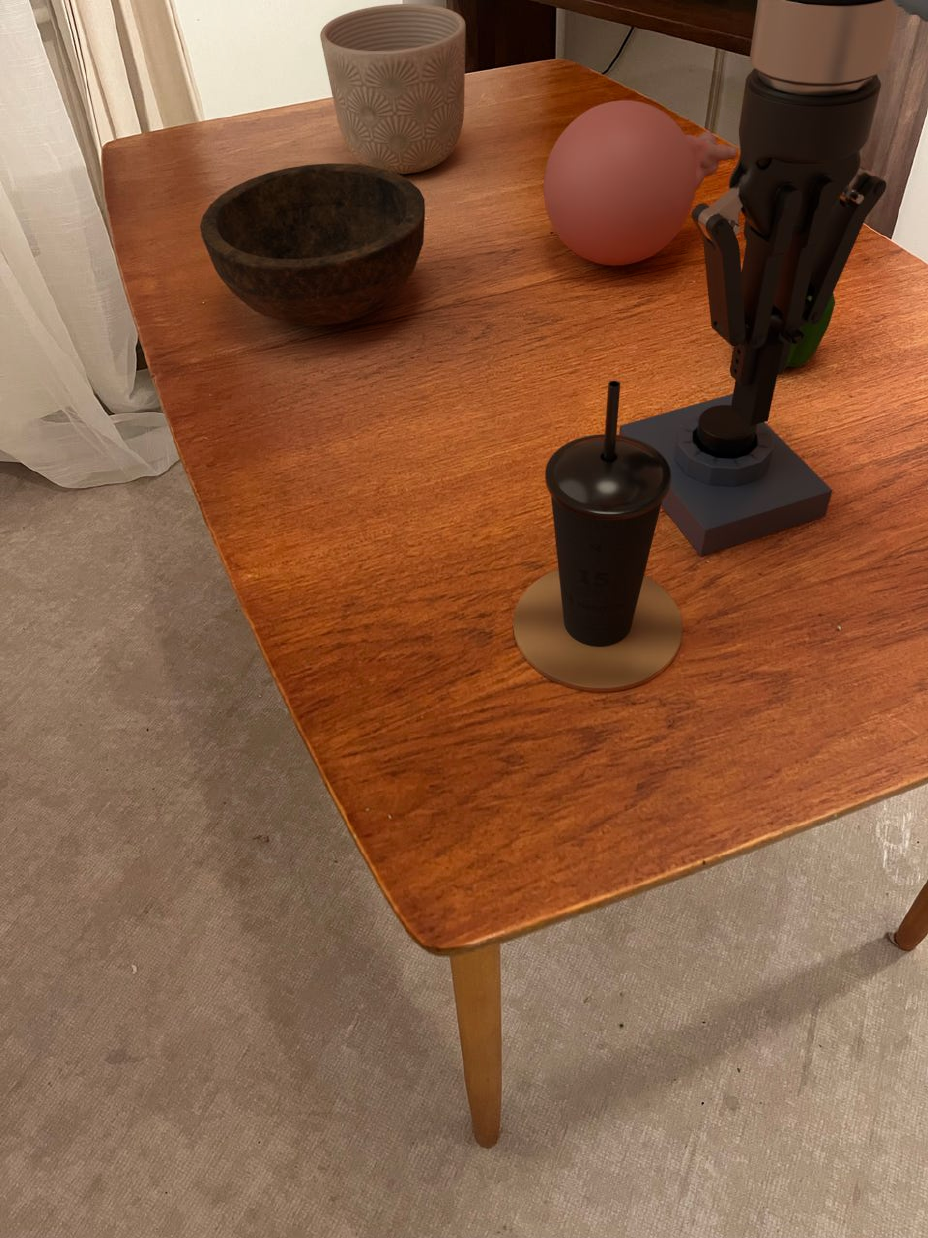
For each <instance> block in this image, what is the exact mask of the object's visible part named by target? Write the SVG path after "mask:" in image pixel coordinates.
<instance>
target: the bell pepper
mask: <svg viewBox="0 0 928 1238" xmlns="http://www.w3.org/2000/svg"><path fill="white" fill-rule="evenodd" d="M808 299H809V300H810V301H811V299H812V297H811V296H810V297H809V298H808ZM835 305H836V299H835V294H834V292H833V294H832V296H831V299H830V301H829V303H828V305H827V308H826V310H825V312H824V315H823V317H822V319H821V320H820V321H819V322H818V323H817V324H815V325H810V324H808V323H807V324H805V325H804V326H802V327H800V328H799V330H800V331H801V332H802V333H804V334H805V337H804V339H803V340H802V341H801V342H800V343H799V344H797V345H793V344H791V346H790V351H789V355H788V360H787V365H786V368H798V367H803V366H805V365H806V364H807V363H808V362H809V361H810V360H812V358H813V356H814V354H815V352H816V351H817V349H818V347H819V346H820V344H821V341H822V339H823V338H824V336H825V333H826V332H827V330H828V328H829V325H830V323H831V320H832V317H833V313H834V309H835Z"/></svg>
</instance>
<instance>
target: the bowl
mask: <svg viewBox="0 0 928 1238" xmlns="http://www.w3.org/2000/svg"><path fill="white" fill-rule="evenodd" d="M425 216H426V201H425V198H424V195H423V193H422V192H421V190H420V189H419V188H418V187H417V186H416V185H415V184H414V183H413V182H412V181H411V180H409V179H407V178H405V176H403V175H401V174H396V173H393V172H390V171H387V170H385V169H381V168H376V167H371V166H366V165H363V164H355V163H329V162H328V163H316V164H304V165H299V166H293V167H286V168H283V169H279V170H275V171H269V172H266V173H264V174H260V175H258V176H255V177H253V178H250V179H248V180H246V181H243V182H241V183H239V184H237V185H234V186H233V187H231V188H230V189H228V190H226V191H225V192H223V193H222V194H220V195H219V196H218V197H217V198H216V199H215V200H213V202H212V203H211V204H209V206H208V207H207V208H206V210H205V212H204V213H203V215H202V217H201V221H200V225H199V228H200V229H199V230H200V235H201V238H202V241H203V244H204V246H205V248H206V251H207V253H208V256H209V259H210V261H211V263H212V265H213V268H214V270H215V272H216V274H217V275H218V276H219V278H220V279H221V280H222V282H223V283H224V284H225V285H226V287H227V288H228V289H229V290H230V292H231V293H232V294H233V295H234V296H236V297H237V298H238V299H239V300H241V301H242V302H243V303H245V305H247V306H248V307H250V308H251V309H252V310H253V311H254V312H256V313H259V314H260V315H263V316H265V317H267V318H271V319H274V320H277V321H279V322H283V323H286V324H290V325H297V326H311V327H312V326H313V327H316V326H318V327H319V326H329V325H335V324H341V323H346V322H349V321H353V320H356V319H359V318H361V317H364V316H367V315H369V314H371V313H372V312H374V311H376V310H377V309H379V308H380V307H382V306H384V305H385V304H386V303H388V302H389V301H390V300H391V299H392V298H393V297H395V296H396V295H397V294H398V293H399V292H400V290H401V289H402V288H403V287H404V285H405V284H406V282H407V281H408V279H409V277H411V276H412V273H413V272H414V270H415V268H416V265H417V262H418V260H419V257H420V254H421V251H422V249H423V245H424V240H425V238H424V236H425V221H426V220H425V218H426V217H425Z"/></svg>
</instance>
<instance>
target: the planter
mask: <svg viewBox="0 0 928 1238" xmlns="http://www.w3.org/2000/svg"><path fill="white" fill-rule="evenodd" d="M466 29H467V28H466V21H465V19H464V18H463V16H462V15H461V14H459V13H457V12H456V11H454V10H451V9H448V8H446V7H442V6H437V5H432V4H424V3H423V4H421V3H396V4H395V3H394V4H384V5H383V4H382V5H376V6H371V7H370V6H369V7H365V8H361V9H357V10H353V11H350V12H347V13H344V14H342V15H340V16H337V17H335V18H333V19H332V20H330V21H329V22H327V23H326V24H325V25H324V26H323V27H322V29H321V30H320V34H319V38H320V43H321V48H322V52H323V58H324V62H325V67H326V72H327V77H328V81H329V87H330V91H331V96H332V101H333V104H334V105H333V106H334V110H335V115H336V119H337V124H338V128H339V131H340V134H341V136H342V139H343V141H344V144H345V145H346V147H347V149H348V150H349V152H350V153H351V155H352V156H353V157H354V158H355V159H356V160H357V161H359V163H361V165H366V166H371V167H376V168H381V169H385V170H387V171H390V172H393V173H396V174H398V175H409V174H415V173H420V172H423V171H424V172H425V171H427V170H430V169H432V168H434V167H436V166H438V165H440V164H441V163H442V162H443V161H446V159H447V158H448V157H449V156H450V155H451V153H452V152H453V151H454V149H455V148H456V146H457V144H458V142H459V139H460V136H461V134H462V129H463V124H464V119H465V118H464V116H465V83H466V82H465V81H466V79H465V78H466Z"/></svg>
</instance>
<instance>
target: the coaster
mask: <svg viewBox="0 0 928 1238" xmlns="http://www.w3.org/2000/svg"><path fill="white" fill-rule="evenodd" d="M512 624H513V625H512V627H513V636H514V641H515V643H516V646H517V649H518V650H519V652H520V654H521V655H522V657H523V659H524V660H525V661H526V662H527V663H528V664H529V665H530V666H531V667H532V668H533V669H534V670H535V671H536V672H538V673H539V674H540V675H542V676H543V677H545V678H547V679H548V680H550V681H552V682H553V683H556V684H558V685H561V686H564V687H566V688H569V689H574V690H578V691H584V692H589V693H612V692H620V691H625V690H629V689H634V688H636V687H638V686H641V685H644V684H646V683H648V682H649V681H652V680H653V679H655V678H656V677H658V676H659V675H660V674H662V673H663V672H664V671H665V670H666V669H667V668H668V667H669V666H670V665H671V663H672V662H673V661H674V660H675V658H676V656H677V655H678V653H679V649H680V647H681V645H682V638H683V634H684V633H683V632H684V630H683V628H684V627H683V618H682V615H681V612H680V608H679V607H678V605H677V603H676V602H675V600H674V598H673V597H672V596H671V594H670V593H669V592H668V591H667V590H666V589H665V588H664V587H663V586H662V585H661V584H659V582H657V581H656V580H654V579H653V578H651V577H649V576H648V575H646V574H644V577H643V581H642V585H641V589H640V594H639V598H638V602H637V606H636V610H635V614H634V618H633V622H632V626H631V629H630V631H629V633H628V635H627V636H626V637H625V638H624V639H622V640H621V641H620V642H618V643H616V644H613V645H610V646H604V647H594V646H589V645H585V644H582V643H580V642H578V641H577V640H575V639H574V638H572V637H571V636H570V634H569V633H568V632H567V630H566V628H565V625H564V619H563V609H562V599H561V589H560V579H559V570H558V568H557V569H554V570H552V571H550V572H548V573H546V574H544V575H542V576H541V577H539V578H538V579H537V580H535V581H534V582H533V583H532V584H530V585H529V587H527V588H526V589H525V591H524V592H523V594H521V596H520V597H519V599H518V602H517V604H516V606H515V610H514V612H513V619H512Z"/></svg>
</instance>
